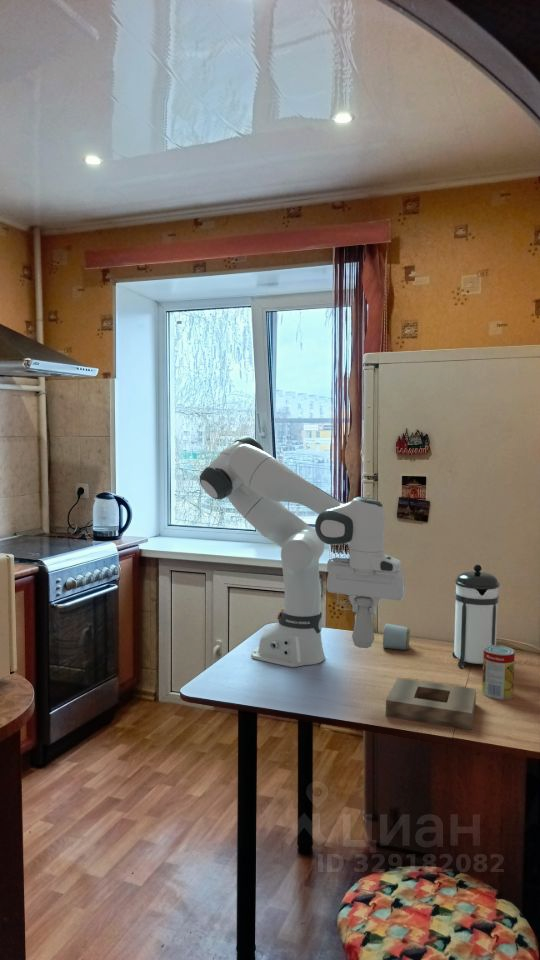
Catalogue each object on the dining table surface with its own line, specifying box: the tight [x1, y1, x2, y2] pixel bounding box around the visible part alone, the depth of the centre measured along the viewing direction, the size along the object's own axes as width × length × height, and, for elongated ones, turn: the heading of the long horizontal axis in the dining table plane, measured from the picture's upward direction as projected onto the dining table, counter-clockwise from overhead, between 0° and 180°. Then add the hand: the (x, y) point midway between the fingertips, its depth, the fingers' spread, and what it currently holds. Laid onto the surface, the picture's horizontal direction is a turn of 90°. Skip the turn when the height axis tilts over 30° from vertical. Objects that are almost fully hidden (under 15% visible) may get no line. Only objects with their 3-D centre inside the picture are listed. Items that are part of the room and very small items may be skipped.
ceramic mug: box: [382, 623, 411, 651], centre depth 215 cm, size 11×8×8 cm
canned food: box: [481, 644, 516, 700], centre depth 177 cm, size 8×8×12 cm
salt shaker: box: [351, 596, 375, 649], centre depth 174 cm, size 6×6×13 cm
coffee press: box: [452, 564, 501, 669], centre depth 201 cm, size 17×16×30 cm
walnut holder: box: [385, 677, 477, 731], centre depth 166 cm, size 20×16×4 cm
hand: (364, 612), depth 173 cm, fingers closed on salt shaker, 3 cm apart
